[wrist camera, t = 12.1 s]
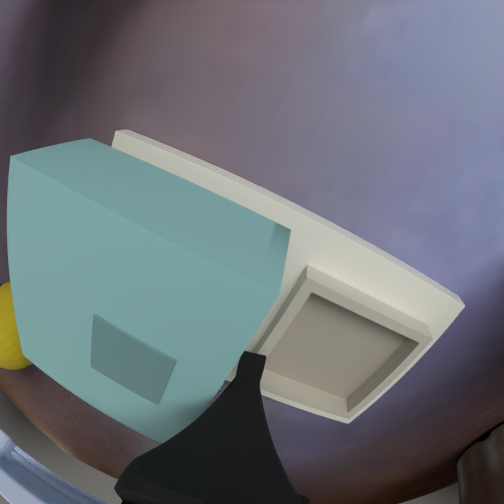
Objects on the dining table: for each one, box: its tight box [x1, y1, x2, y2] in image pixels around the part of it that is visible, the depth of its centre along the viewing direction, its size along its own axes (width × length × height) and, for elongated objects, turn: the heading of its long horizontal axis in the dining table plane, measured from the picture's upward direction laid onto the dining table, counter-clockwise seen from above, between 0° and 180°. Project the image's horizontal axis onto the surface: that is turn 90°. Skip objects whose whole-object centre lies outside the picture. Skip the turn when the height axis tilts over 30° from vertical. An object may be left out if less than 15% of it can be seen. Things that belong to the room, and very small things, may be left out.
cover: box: [7, 138, 291, 444], centre depth 11 cm, size 9×10×4 cm
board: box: [111, 129, 465, 424], centre depth 14 cm, size 19×11×2 cm, turn 66°
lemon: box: [0, 282, 32, 370], centre depth 15 cm, size 6×6×8 cm
